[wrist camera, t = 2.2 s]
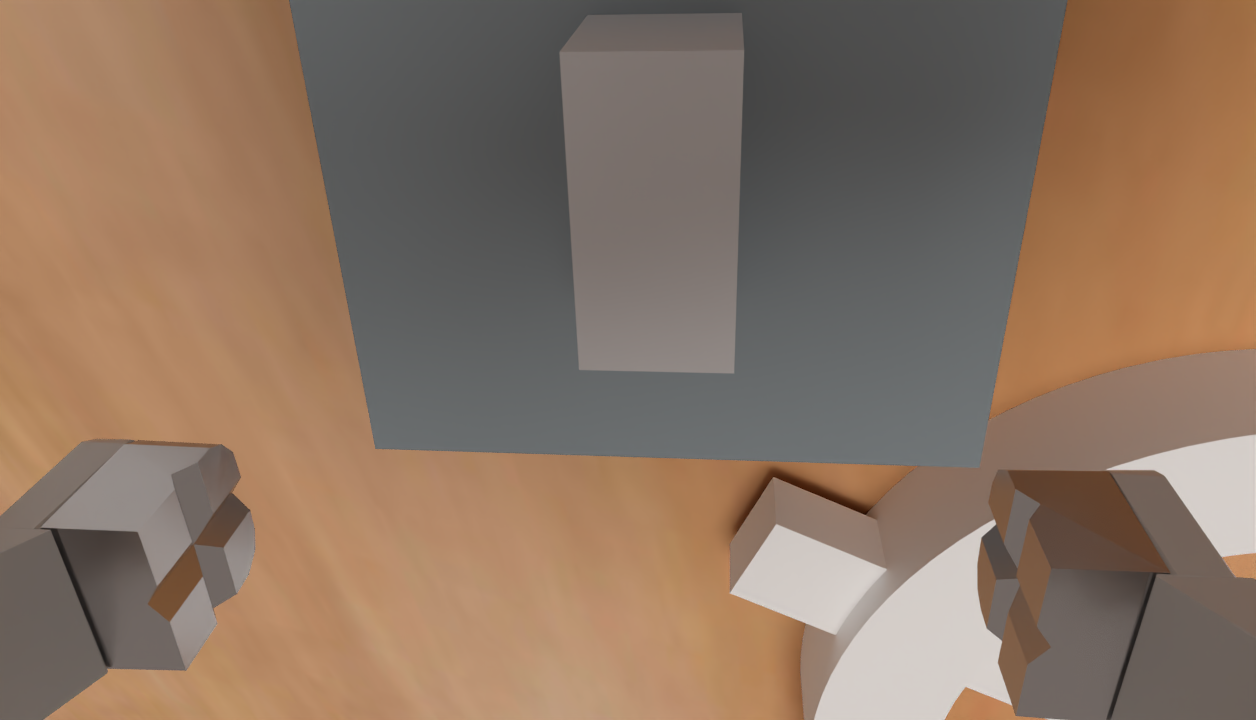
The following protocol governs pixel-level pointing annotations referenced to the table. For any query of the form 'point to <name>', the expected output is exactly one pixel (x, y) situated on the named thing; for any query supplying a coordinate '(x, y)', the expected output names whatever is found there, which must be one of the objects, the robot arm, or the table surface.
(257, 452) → the table surface
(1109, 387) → the ring with crossbar
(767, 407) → the lid
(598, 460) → the table surface
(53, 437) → the table surface
